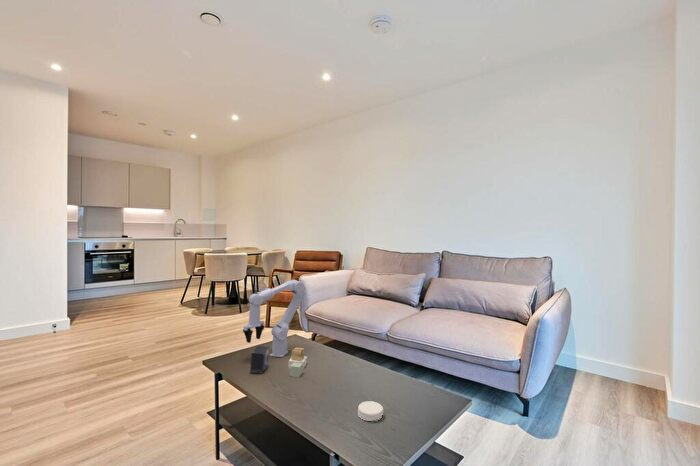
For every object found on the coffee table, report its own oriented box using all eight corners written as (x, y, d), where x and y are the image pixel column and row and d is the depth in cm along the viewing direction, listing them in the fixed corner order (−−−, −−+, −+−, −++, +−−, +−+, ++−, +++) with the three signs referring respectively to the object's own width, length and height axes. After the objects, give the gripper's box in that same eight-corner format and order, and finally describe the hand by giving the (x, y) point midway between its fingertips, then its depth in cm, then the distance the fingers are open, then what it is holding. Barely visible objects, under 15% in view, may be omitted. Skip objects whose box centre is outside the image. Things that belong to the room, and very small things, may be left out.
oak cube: (295, 356, 179) (295, 347, 179) (303, 357, 178) (304, 348, 177) (291, 360, 174) (291, 350, 174) (300, 361, 173) (300, 351, 173)
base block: (292, 362, 180) (292, 355, 180) (306, 363, 180) (307, 356, 180) (288, 368, 172) (288, 361, 172) (303, 369, 172) (303, 362, 172)
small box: (262, 374, 164) (263, 353, 164) (249, 373, 164) (250, 352, 164) (268, 365, 174) (269, 346, 174) (256, 365, 174) (257, 345, 174)
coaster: (367, 406, 137) (368, 398, 137) (387, 415, 131) (388, 406, 131) (352, 416, 129) (353, 407, 129) (373, 426, 123) (373, 416, 123)
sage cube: (293, 372, 168) (293, 362, 168) (302, 373, 167) (303, 363, 167) (289, 376, 163) (289, 366, 163) (299, 377, 162) (299, 367, 162)
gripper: (251, 319, 174) (249, 345, 174) (268, 314, 187) (267, 338, 187) (240, 317, 177) (239, 343, 177) (259, 312, 190) (258, 336, 190)
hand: (253, 340), depth 182 cm, fingers open, 7 cm apart
